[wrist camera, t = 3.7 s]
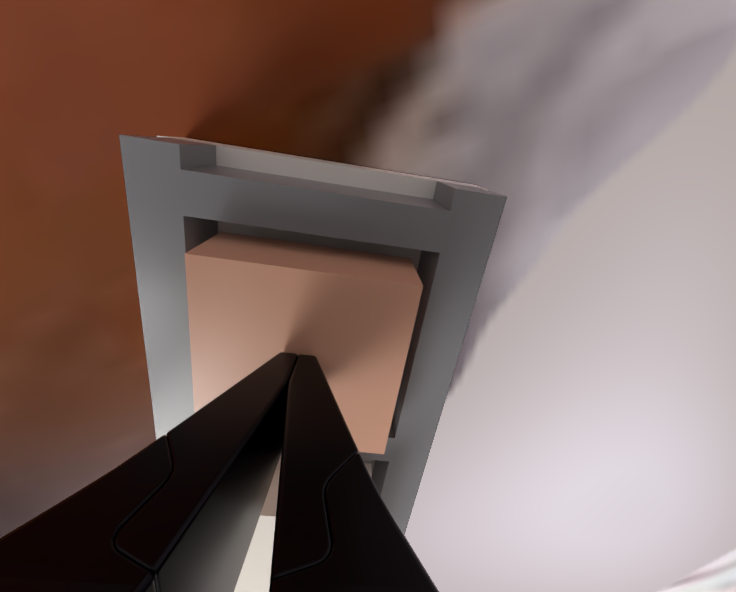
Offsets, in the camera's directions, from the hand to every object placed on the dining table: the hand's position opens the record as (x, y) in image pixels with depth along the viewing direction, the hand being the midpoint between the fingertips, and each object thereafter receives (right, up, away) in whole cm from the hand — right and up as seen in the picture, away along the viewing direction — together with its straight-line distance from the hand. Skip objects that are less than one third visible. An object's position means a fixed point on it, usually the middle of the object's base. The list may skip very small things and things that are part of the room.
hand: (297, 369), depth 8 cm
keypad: (-2, -8, +8) cm, 11 cm away
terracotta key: (0, +1, +2) cm, 2 cm away
